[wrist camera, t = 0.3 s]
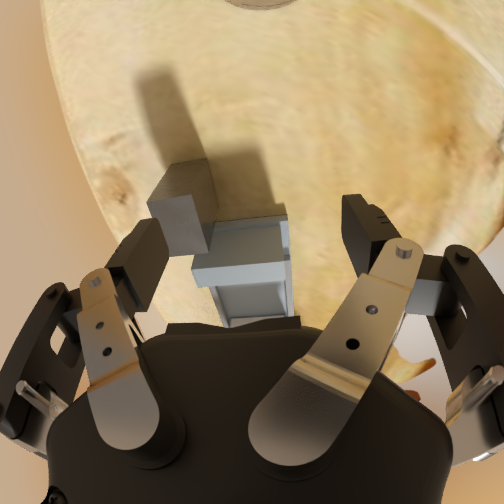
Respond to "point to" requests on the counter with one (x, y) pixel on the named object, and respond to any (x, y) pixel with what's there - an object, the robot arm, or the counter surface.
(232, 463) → the robot arm
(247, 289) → the vise base
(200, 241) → the block
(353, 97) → the counter surface
